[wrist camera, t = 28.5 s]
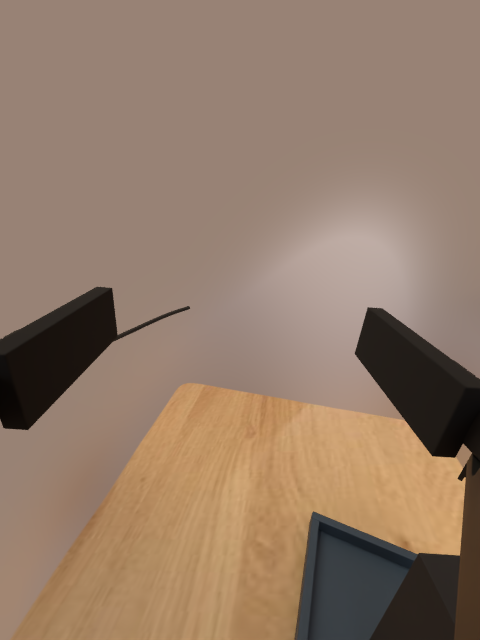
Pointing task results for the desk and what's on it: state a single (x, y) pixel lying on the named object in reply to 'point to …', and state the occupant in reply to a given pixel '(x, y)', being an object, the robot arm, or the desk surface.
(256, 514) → the desk surface
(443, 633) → the black tall block
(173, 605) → the desk surface
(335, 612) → the tray
